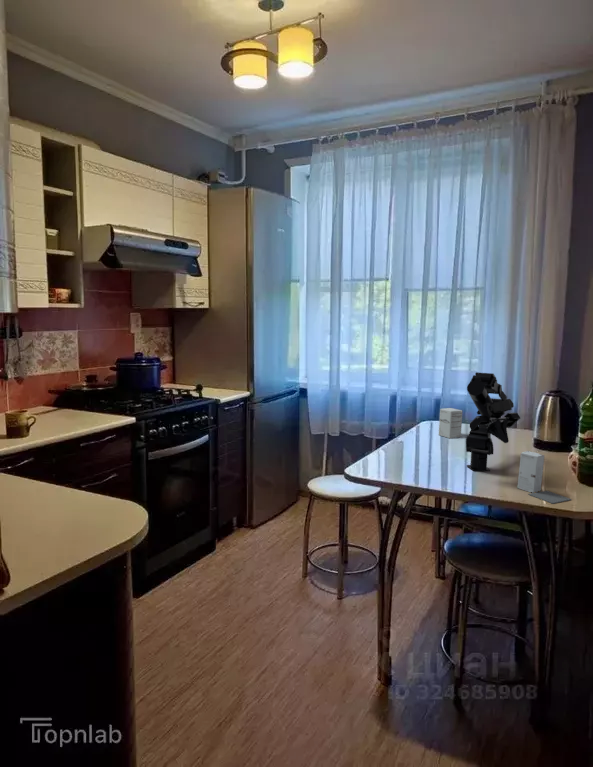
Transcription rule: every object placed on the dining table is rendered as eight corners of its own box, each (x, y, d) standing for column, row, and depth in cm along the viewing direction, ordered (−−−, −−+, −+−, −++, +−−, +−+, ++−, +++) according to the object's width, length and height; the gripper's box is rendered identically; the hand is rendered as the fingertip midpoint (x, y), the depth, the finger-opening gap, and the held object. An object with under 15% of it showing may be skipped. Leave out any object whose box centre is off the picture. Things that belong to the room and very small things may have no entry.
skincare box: (516, 488, 182) (519, 452, 181) (524, 486, 185) (527, 450, 183) (534, 493, 177) (537, 456, 176) (542, 491, 180) (544, 454, 178)
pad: (528, 494, 176) (528, 493, 176) (546, 491, 180) (547, 490, 180) (552, 503, 168) (552, 502, 168) (571, 500, 172) (571, 499, 172)
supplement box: (438, 435, 259) (439, 408, 257) (450, 434, 262) (451, 407, 261) (449, 438, 253) (450, 411, 251) (461, 437, 256) (463, 410, 254)
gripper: (477, 392, 187) (500, 431, 179) (518, 389, 195) (541, 427, 187) (459, 411, 195) (481, 449, 187) (499, 408, 203) (521, 444, 195)
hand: (507, 442), depth 189 cm, fingers closed
